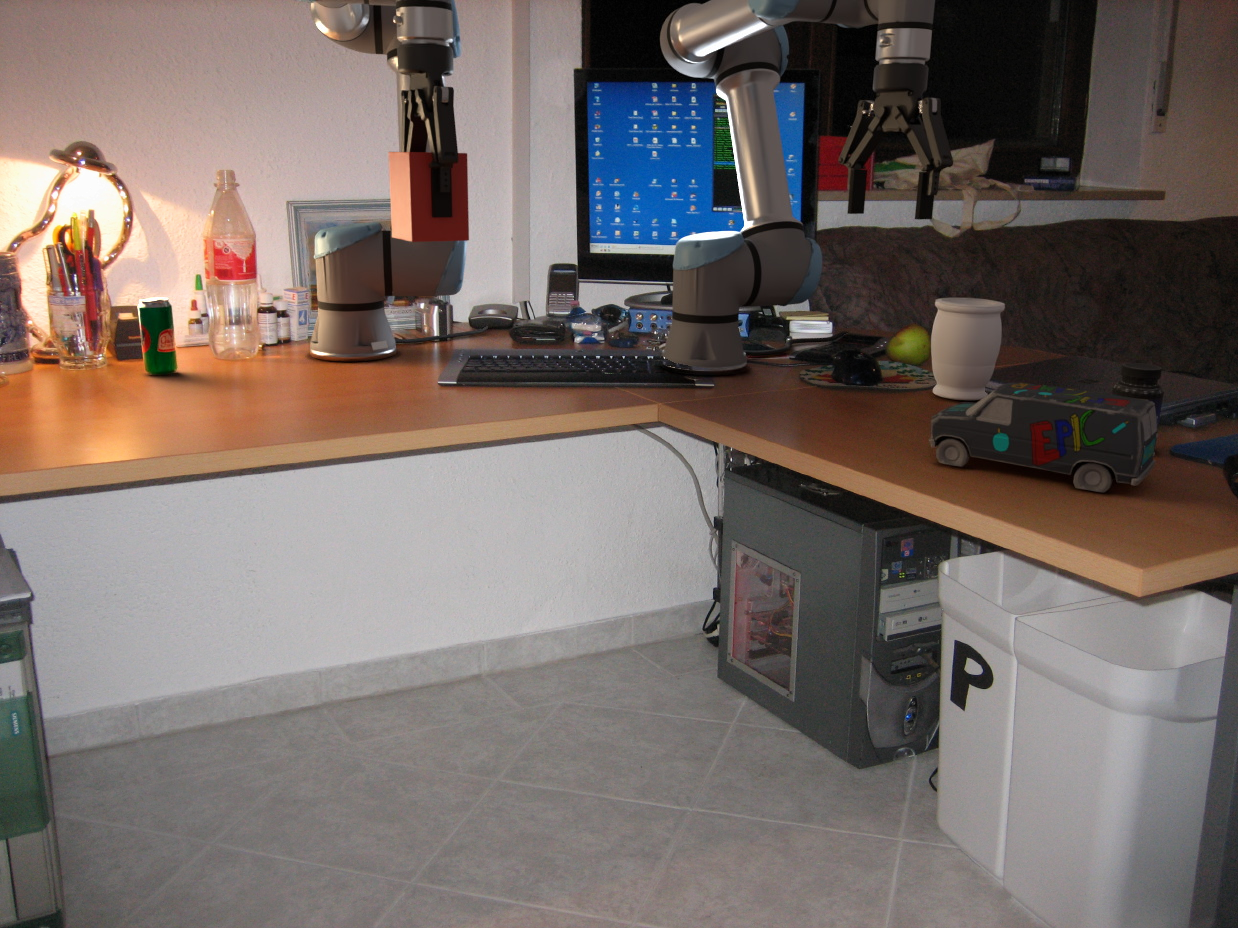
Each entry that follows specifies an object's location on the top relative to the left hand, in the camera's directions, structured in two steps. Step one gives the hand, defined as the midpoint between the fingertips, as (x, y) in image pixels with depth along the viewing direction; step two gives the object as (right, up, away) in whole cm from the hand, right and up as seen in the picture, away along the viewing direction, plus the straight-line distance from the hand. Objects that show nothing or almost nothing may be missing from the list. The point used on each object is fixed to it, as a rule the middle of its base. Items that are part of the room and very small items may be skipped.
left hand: (430, 215), depth 151 cm
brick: (0, -3, +1) cm, 3 cm away
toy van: (+78, -36, -21) cm, 88 cm away
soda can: (-48, -20, +24) cm, 58 cm away
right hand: (+67, +1, +6) cm, 67 cm away
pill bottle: (+94, -33, -11) cm, 100 cm away
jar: (+81, -25, +19) cm, 87 cm away
